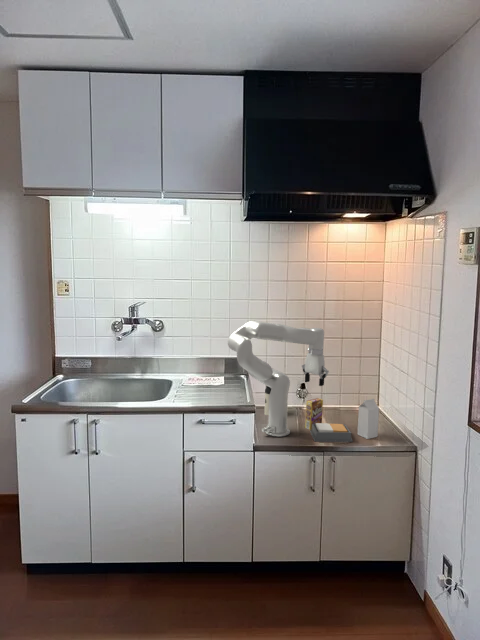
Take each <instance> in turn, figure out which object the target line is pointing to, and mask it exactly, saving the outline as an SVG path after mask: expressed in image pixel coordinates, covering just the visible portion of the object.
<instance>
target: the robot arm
mask: <svg viewBox="0 0 480 640" xmlns="http://www.w3.org/2000/svg"><path fill="white" fill-rule="evenodd" d="M253 338H254V339H258V340H264V341H265V340H266V341H274V342H282V343H290V344H298V345H308V348H307V352H308V353H306V357H305V362H304V364H302V365H301V369H302V371H303V375H304V382H305V383H309V382H311V381H310V380H311V378H310V377H311V374H313V375H318V376H319V377H320V378H319V379H318V380H319V381H318V386H319V387H323V386H325V379H326V377H327V376H328V375H329V372H330V371H329V370H328V369H327V368H326V366H325V365H326V364H325V355H324V343H325V342H324V341H325V330H324V329H323V328H320V327H312V328H307V327H297V328H296V327H293V326H289V325H286V324H281V323H270V322H263V321H258V320H250V321H247V322H246V323H245V324H243V325H242V326H241V327H239V328H238V329H237V330H235V331H234V332H233V333H231V334H230V335H229V337H228V338H227V346H228V348H229V349H230V350H232V351H234V352H236V360H237V363H238V365H239V367H240V368H241V369H243V370H245V371H247V374H248V375H249V376H250V377H252V378H253V379H255V380H256V381H258V382H259V383H262V385H265V387H266V386H268V387H270V388H271V392H270V396H269V416H268V423H267V425H266V427H263V428H261V432H262V433H265V434H267V435H268V436H271V437H286V436H288V435H290V433H291V430H290V429H289V428H288V405H289V404H288V402H289V401H288V399H289V397H288V396H289V390H290V386H291V381H290V377H289V376H288V375H287V374H286V373H284V372H282V371H279V370H277V369H275V368H273V367H272V366H271V364H269V363H267V362H266V361H264V360H263V359H260V358H259V357H258V356H257V355H255V354H254V353H253V343H252V341H251V340H252V339H253Z"/></svg>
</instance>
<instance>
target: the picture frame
mask: <svg viewBox="0 0 480 640" xmlns="http://www.w3.org/2000/svg"><path fill="white" fill-rule="evenodd" d="M316 428H317V430H318V431H319V432H347V430H346V428H345V427H344V425H343V423H329V422H328V423H326V422H324V423H323V422H322V423H316Z"/></svg>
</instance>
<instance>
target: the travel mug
mask: <svg viewBox="0 0 480 640" xmlns="http://www.w3.org/2000/svg"><path fill="white" fill-rule="evenodd" d="M270 392H271V388H270V387H268V386H266V385H265V389H264V413H263V414H264V416H267V415H268V417H269V396H270Z"/></svg>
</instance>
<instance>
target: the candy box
mask: <svg viewBox="0 0 480 640" xmlns="http://www.w3.org/2000/svg"><path fill="white" fill-rule="evenodd" d="M305 404H306V405H305V406H306V407H305V421H304V422H305V423H304V428H305V429H307V430H309V431H310V430H312V424H316V423H323V407H324V400H323V399H322V398H318V397H316V398H313V399H307V400H306V403H305Z"/></svg>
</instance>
